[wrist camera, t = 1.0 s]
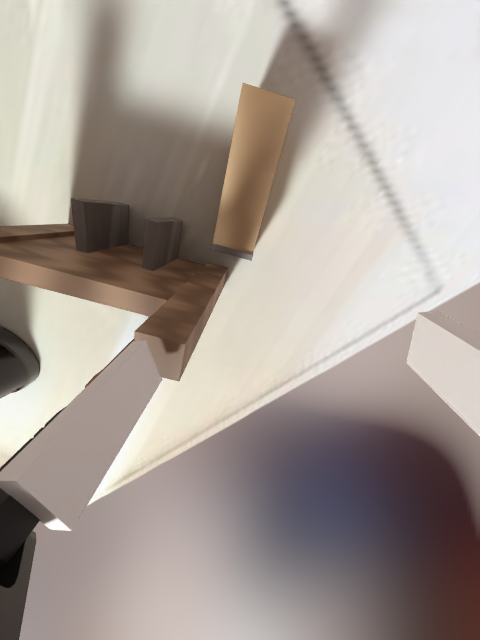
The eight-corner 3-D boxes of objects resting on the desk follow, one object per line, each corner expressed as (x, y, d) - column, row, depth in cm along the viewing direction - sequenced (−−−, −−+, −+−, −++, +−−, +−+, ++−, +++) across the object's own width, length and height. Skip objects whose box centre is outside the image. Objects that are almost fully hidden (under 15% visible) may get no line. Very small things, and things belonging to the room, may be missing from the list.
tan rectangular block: (220, 242, 29) (210, 249, 22) (245, 116, 23) (241, 80, 17) (252, 251, 29) (251, 260, 23) (286, 129, 23) (296, 98, 17)
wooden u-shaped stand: (70, 245, 30) (-198, 288, 12) (63, 186, 27) (-318, 128, 9) (223, 287, 31) (179, 381, 14) (235, 236, 28) (197, 270, 10)
